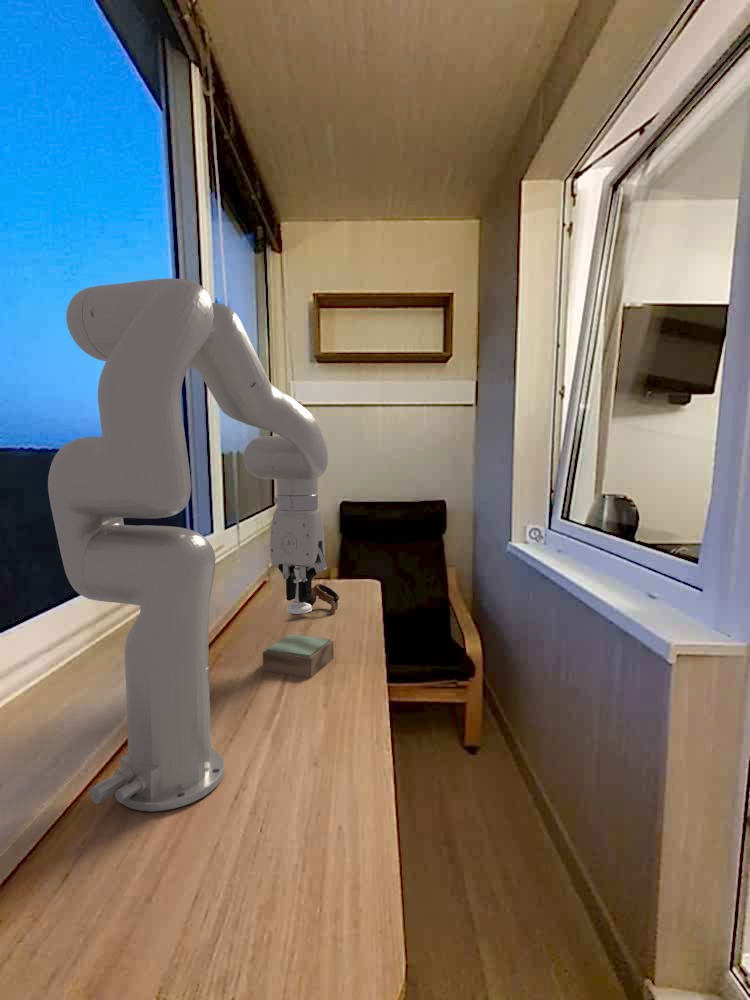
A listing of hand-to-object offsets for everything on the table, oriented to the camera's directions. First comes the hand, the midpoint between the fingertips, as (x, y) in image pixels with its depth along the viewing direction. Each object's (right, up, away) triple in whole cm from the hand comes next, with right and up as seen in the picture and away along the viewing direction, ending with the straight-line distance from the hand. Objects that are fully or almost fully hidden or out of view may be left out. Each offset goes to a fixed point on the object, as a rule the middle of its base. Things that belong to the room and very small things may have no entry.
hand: (298, 599), depth 104 cm
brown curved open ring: (-1, -10, +35) cm, 37 cm away
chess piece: (0, -2, 0) cm, 2 cm away
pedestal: (0, -13, +1) cm, 13 cm away
